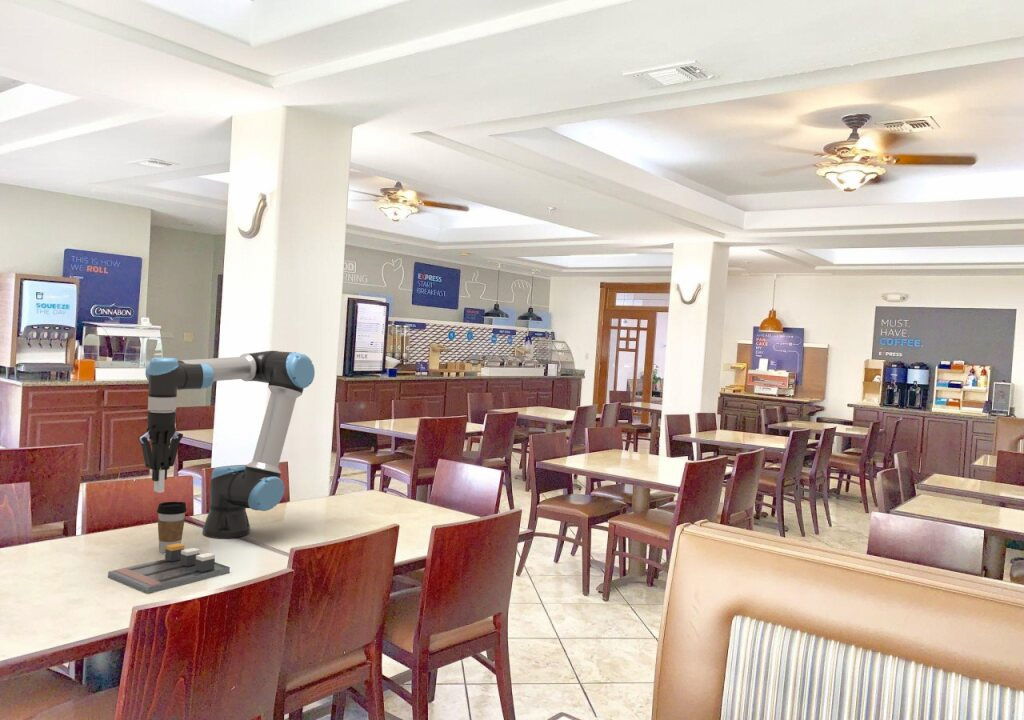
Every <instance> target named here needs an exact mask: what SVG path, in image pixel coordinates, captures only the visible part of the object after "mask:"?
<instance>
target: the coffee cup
mask: <svg viewBox="0 0 1024 720" xmlns="http://www.w3.org/2000/svg"><path fill="white" fill-rule="evenodd" d="M186 512H187V503H186V502H185V501H165V502H164V501H163V502H161V503H158V505H157V509H156V513H157V514H158V518H157V531H158V534H157V535H158V550H159V551H158V552H159V553H161V554H165V550H166V545H171V544H176V543H180V544H182V539H183V532H184V526H185V519H186V517H185V515H186Z"/></svg>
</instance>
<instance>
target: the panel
mask: <svg viewBox="0 0 1024 720" xmlns="http://www.w3.org/2000/svg"><path fill="white" fill-rule="evenodd" d="M180 561H181V559H179V560H175V561H169V560H166V559H165V558H163V559H159V560H155V561H150V562H145V563H141V564H137V565H132V566H127V567H122V568H118V569H114V570H109V571H108V572H107V578H108V579H111V580H114V581H116V582H118V583H121V584H123V585H125V586H128V587H131V588H133V589H135V590H138V591H140V592H143V593H145V594H147V595H148V594H152V593H156V592H159V591H164V590H168V589H171V588H172V589H173V588H176V587H178V586H179V587H180V586H182V585H188V584H190V583H195V582H198V581H203V580H206V579H210V578H215V577H218V576H222V575H226V574H229V573H231V572H230V570H231V567H230V566H229V565H228V566H227V565H225V564H222V563H219V562H215V564H214V569H211V570H207V571H203V572H201V571H198V570H195V565H196V564H195V565H190V566H184V565H181V564H180Z"/></svg>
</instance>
